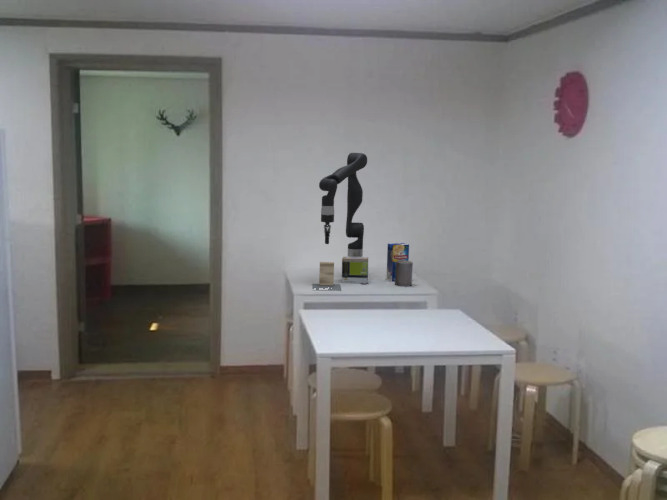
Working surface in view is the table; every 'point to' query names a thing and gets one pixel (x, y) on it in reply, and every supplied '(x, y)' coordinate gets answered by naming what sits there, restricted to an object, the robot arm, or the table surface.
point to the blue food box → (395, 258)
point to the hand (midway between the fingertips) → (326, 243)
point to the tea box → (355, 270)
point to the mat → (334, 288)
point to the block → (326, 274)
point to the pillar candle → (403, 273)
